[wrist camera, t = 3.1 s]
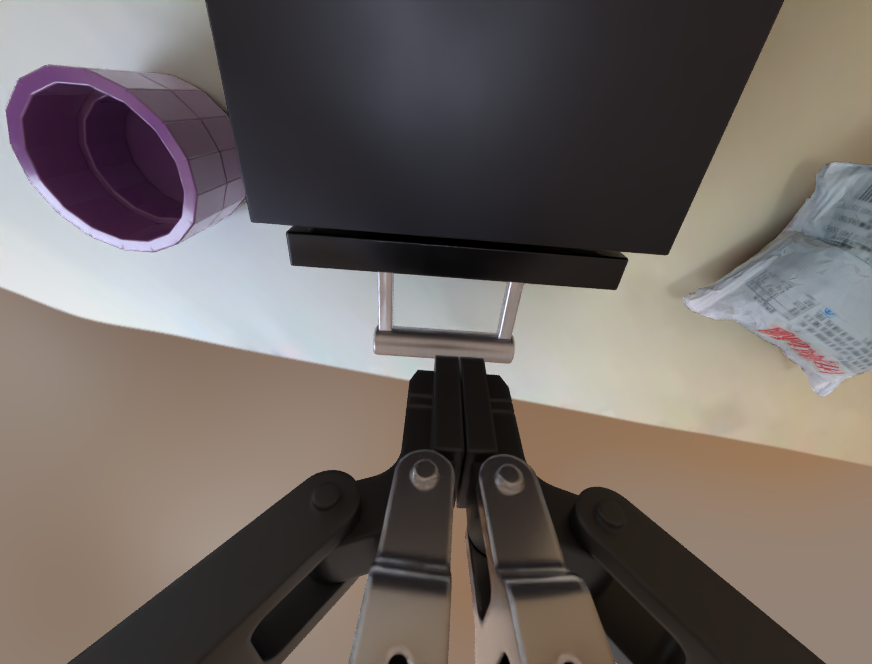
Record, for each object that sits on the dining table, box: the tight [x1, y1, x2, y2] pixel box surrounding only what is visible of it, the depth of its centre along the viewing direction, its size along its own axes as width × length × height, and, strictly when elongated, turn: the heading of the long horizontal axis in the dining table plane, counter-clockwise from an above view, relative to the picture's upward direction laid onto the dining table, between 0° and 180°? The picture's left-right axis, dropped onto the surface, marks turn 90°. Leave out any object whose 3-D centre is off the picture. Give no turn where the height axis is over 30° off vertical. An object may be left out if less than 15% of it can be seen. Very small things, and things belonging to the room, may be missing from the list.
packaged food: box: [683, 162, 872, 397], centre depth 18 cm, size 9×12×5 cm
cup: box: [6, 64, 246, 252], centre depth 15 cm, size 6×6×5 cm
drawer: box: [286, 226, 628, 363], centre depth 13 cm, size 19×11×7 cm, turn 176°
